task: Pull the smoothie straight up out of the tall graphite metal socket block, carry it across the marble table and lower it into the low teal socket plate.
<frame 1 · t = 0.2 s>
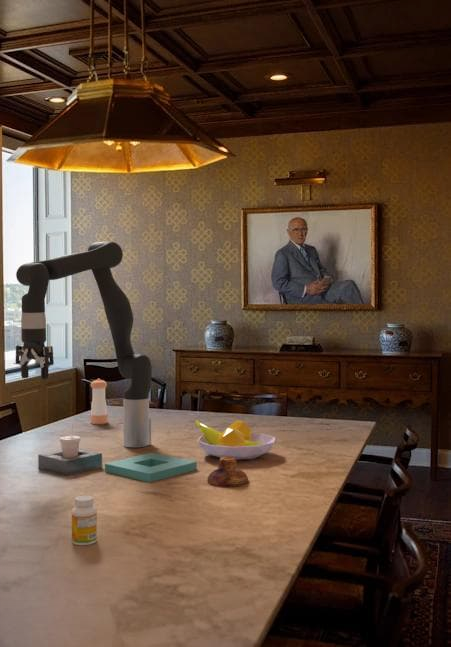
hand: (34, 378, 223), 28 cm above the table, tool pointing down, fingers open, 8 cm apart
supplement bottle: (84, 542, 155), on the table
fruit bowl: (234, 456, 241), on the table
low socket: (151, 470, 220), on the table
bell: (228, 483, 206), on the table
smoothie: (70, 468, 223), resting in tall socket
tall socket: (70, 468, 223), on the table
pepper shaker: (99, 423, 306), on the table
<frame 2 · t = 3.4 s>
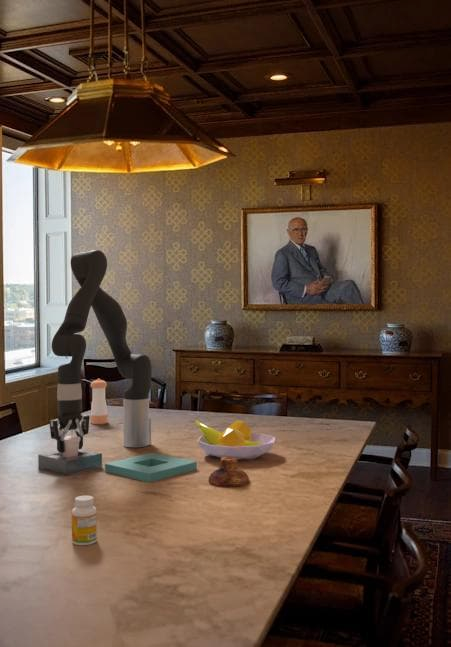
hand: (70, 450, 223), 6 cm above the table, tool pointing down, fingers closed on smoothie, 6 cm apart
smoothie: (70, 468, 223), resting in tall socket, touching gripper
everything else where it was.
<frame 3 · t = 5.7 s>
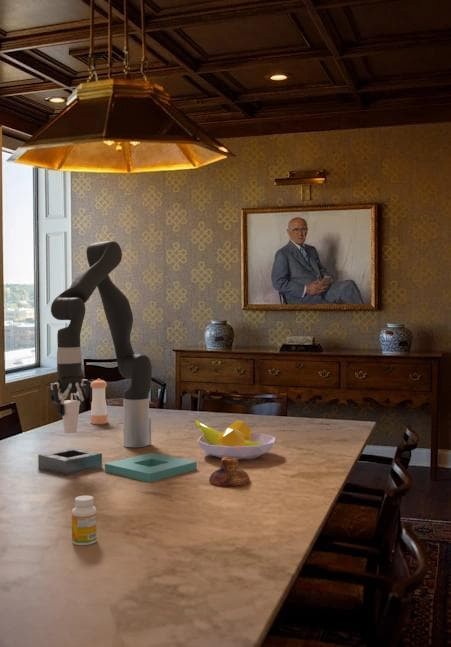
hand: (70, 414, 223), 17 cm above the table, tool pointing down, fingers closed on smoothie, 6 cm apart
smoothie: (70, 432, 223), point 11 cm above the table, touching gripper
everything else where it was.
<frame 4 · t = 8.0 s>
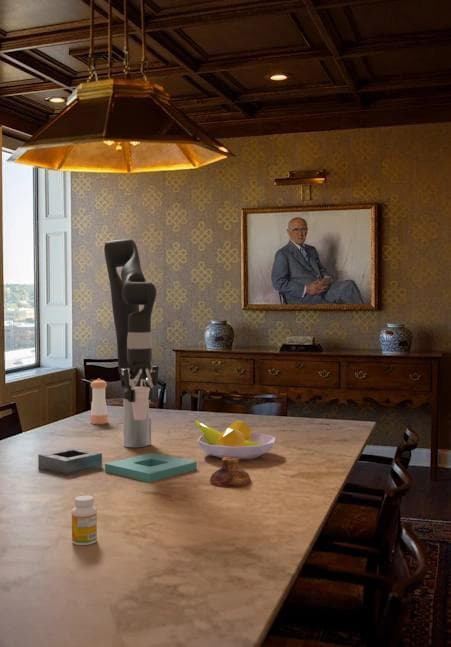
hand: (139, 400, 219), 22 cm above the table, tool pointing down, fingers closed on smoothie, 6 cm apart
smoothie: (139, 419, 219), point 16 cm above the table, touching gripper
everything else where it was.
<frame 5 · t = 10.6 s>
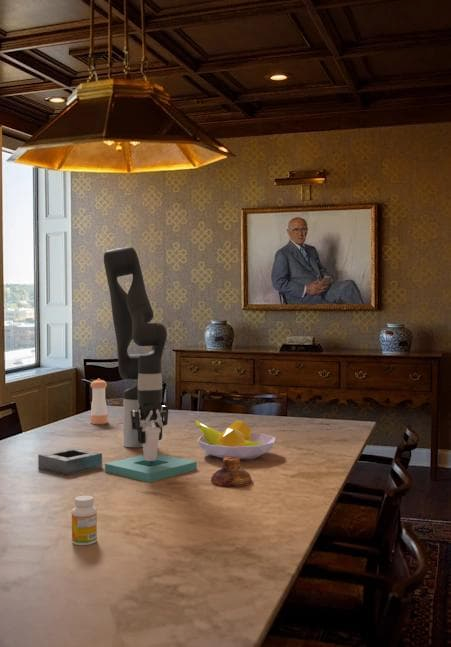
hand: (150, 441, 219), 9 cm above the table, tool pointing down, fingers closed on smoothie, 6 cm apart
smoothie: (150, 460, 219), point 3 cm above the table, touching gripper
when the fingers open (6 cm above the table, at t = 12.5 s): smoothie stays where it is, resting in low socket.
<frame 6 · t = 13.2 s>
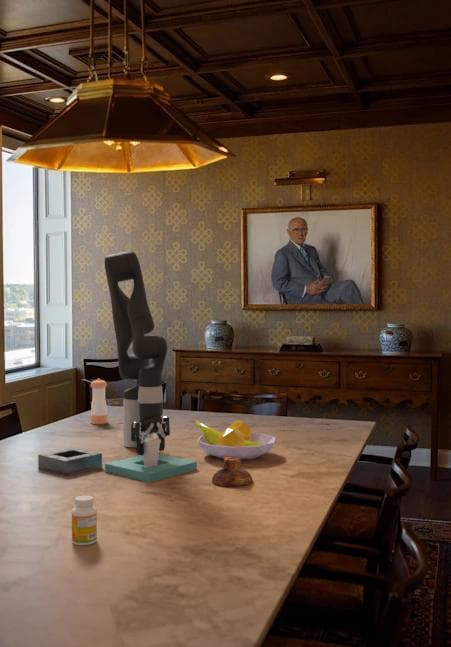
hand: (150, 452, 219), 6 cm above the table, tool pointing down, fingers open, 8 cm apart
smoothie: (150, 471, 220), resting in low socket
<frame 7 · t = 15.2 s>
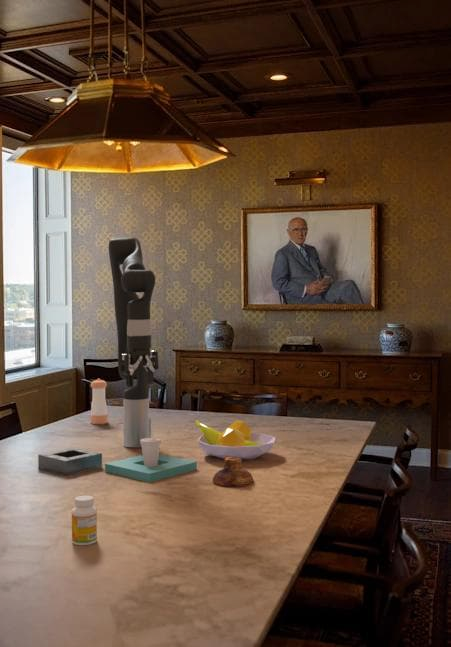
hand: (140, 385, 222), 26 cm above the table, tool pointing down, fingers open, 8 cm apart
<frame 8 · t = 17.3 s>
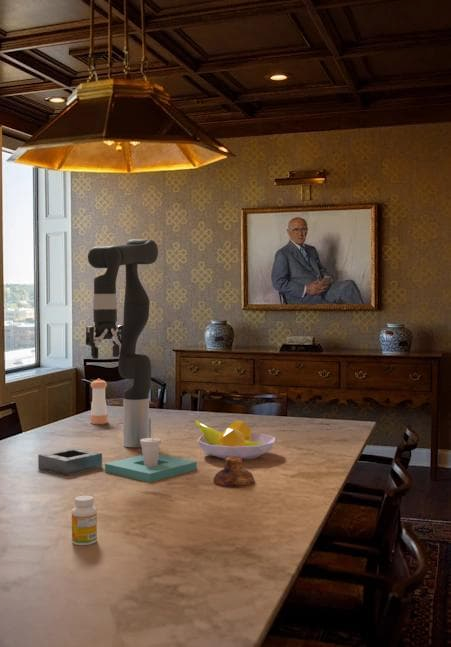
hand: (105, 357, 231), 34 cm above the table, tool pointing down, fingers open, 8 cm apart
at the end: smoothie 0.1 cm off-centre on the low socket, point 0.0 cm above the low socket's base; smoothie tilted 0°; the gripper is holding nothing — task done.
